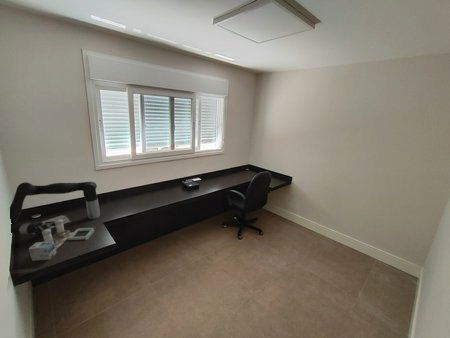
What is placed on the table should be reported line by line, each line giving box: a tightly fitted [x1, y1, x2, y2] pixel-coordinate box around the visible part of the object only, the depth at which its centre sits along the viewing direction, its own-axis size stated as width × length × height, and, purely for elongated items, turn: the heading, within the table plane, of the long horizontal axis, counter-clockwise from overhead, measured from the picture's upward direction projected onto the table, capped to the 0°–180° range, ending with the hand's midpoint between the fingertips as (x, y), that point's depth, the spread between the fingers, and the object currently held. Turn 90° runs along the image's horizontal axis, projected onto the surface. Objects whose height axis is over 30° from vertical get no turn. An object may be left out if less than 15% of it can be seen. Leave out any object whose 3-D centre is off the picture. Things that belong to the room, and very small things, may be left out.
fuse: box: [41, 228, 53, 242], centre depth 136 cm, size 5×5×13 cm
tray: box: [67, 227, 95, 242], centre depth 153 cm, size 12×12×4 cm
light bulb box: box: [28, 241, 57, 262], centre depth 128 cm, size 11×7×11 cm, turn 100°
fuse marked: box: [55, 219, 66, 235], centre depth 149 cm, size 5×5×13 cm
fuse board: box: [52, 229, 75, 251], centre depth 144 cm, size 21×12×4 cm, turn 9°
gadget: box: [41, 215, 72, 230], centre depth 168 cm, size 23×15×4 cm, turn 56°
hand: (54, 227), depth 148 cm, fingers open, 8 cm apart
